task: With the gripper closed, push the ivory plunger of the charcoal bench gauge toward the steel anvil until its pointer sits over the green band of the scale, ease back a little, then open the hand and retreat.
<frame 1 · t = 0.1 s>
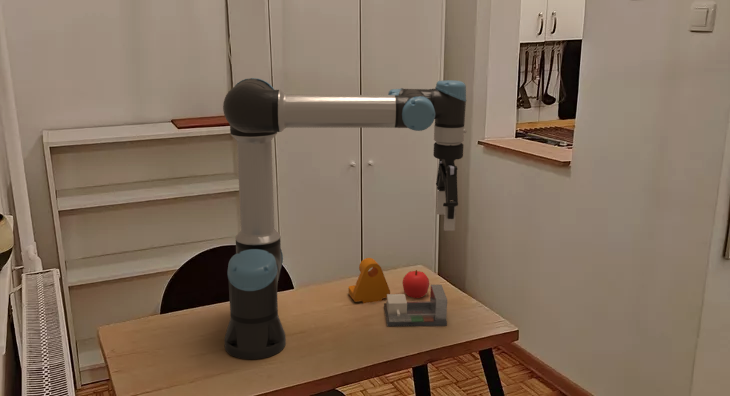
hand: (445, 221, 174), 28 cm above the table, fingers open, 13 cm apart
plunger: (397, 307, 180), point 3 cm above the table, slide at 0.0 cm
bracket: (368, 297, 195), on the table
gauge base: (414, 316, 183), on the table
apple: (415, 295, 196), on the table
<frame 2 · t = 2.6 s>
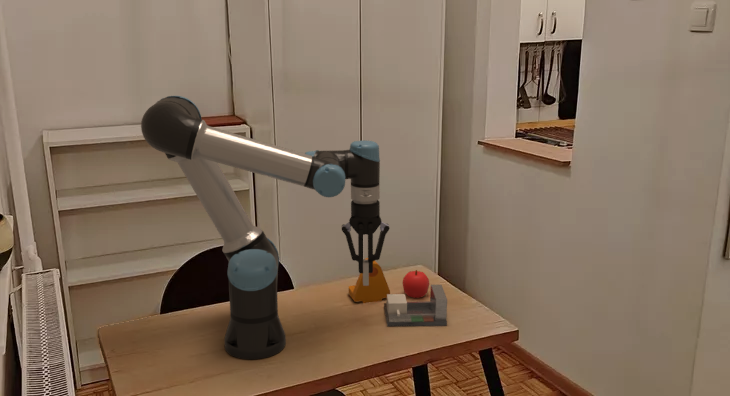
hand: (365, 283, 179), 10 cm above the table, fingers closed
nothing on the table moved.
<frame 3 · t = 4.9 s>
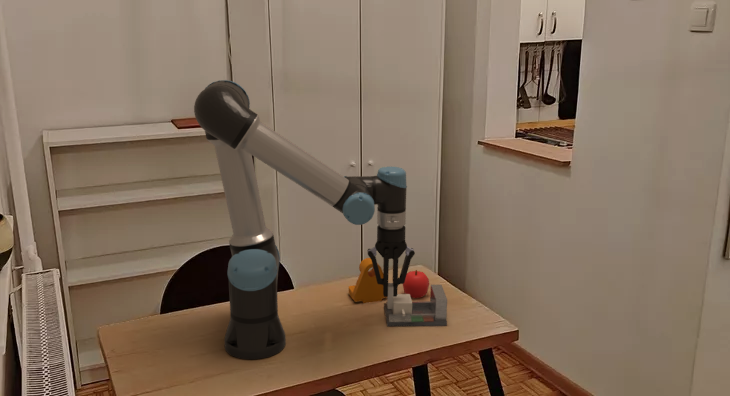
hand: (390, 306, 182), 3 cm above the table, fingers closed
plunger: (402, 307, 180), point 3 cm above the table, slide at 1.4 cm, touching gripper
everything else where it was.
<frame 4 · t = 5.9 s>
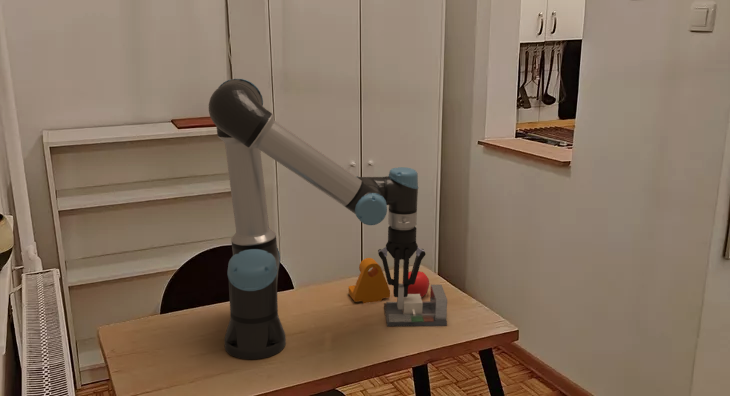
hand: (400, 307, 182), 3 cm above the table, fingers closed
plunger: (412, 307, 180), point 3 cm above the table, slide at 4.2 cm, touching gripper
everything else where it was.
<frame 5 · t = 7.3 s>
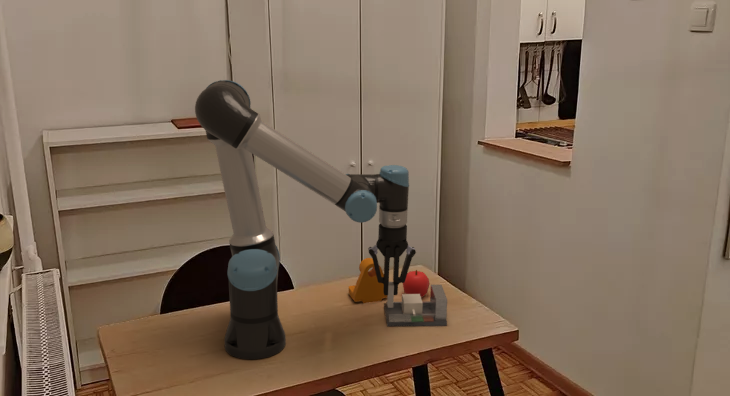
hand: (390, 305, 181), 3 cm above the table, fingers closed
plunger: (412, 307, 180), point 3 cm above the table, slide at 4.2 cm
everything else where it was.
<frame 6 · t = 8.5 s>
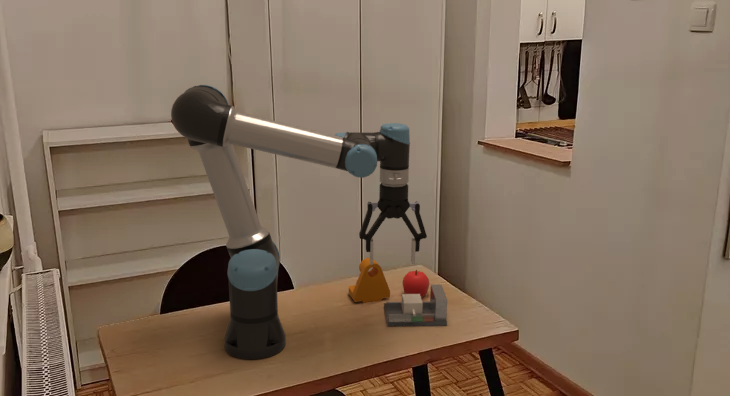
hand: (392, 262, 178), 16 cm above the table, fingers open, 10 cm apart
nothing on the table moved.
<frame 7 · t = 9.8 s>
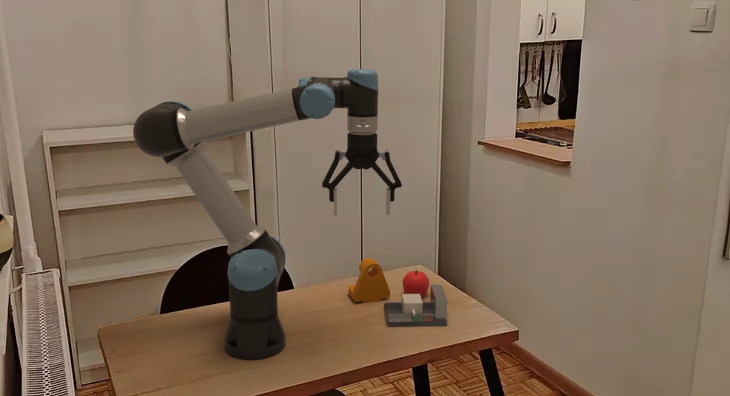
hand: (361, 213, 171), 31 cm above the table, fingers open, 13 cm apart
nothing on the table moved.
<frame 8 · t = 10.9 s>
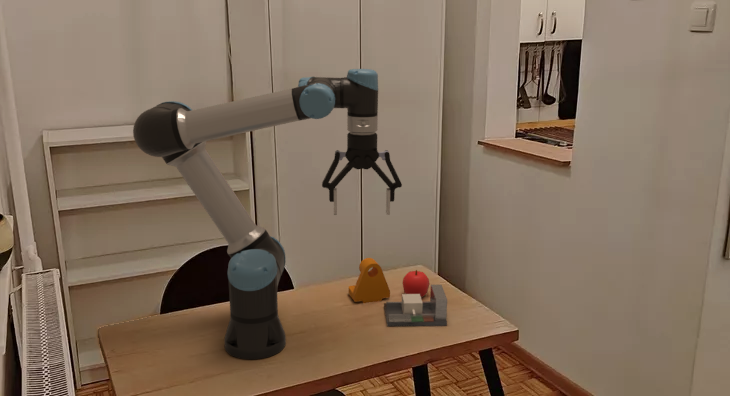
hand: (361, 213, 171), 31 cm above the table, fingers open, 13 cm apart
nothing on the table moved.
at the end: plunger slide at 4.2 cm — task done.
